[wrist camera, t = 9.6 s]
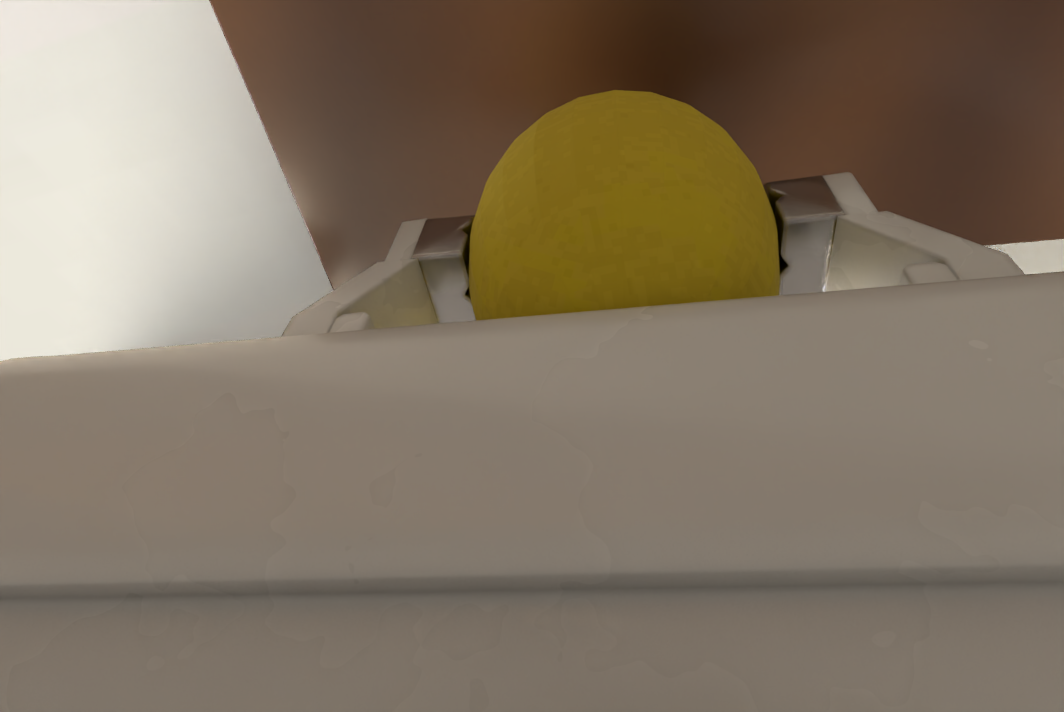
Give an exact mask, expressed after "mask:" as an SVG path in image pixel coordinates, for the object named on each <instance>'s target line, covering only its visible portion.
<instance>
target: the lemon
mask: <svg viewBox="0 0 1064 712" xmlns="http://www.w3.org/2000/svg"><path fill="white" fill-rule="evenodd" d="M779 285H780V268H779V250H778V233H777V226H776V220H775V217H774V213H773V210H772V207H771V205H770V202H769V200H768V197H767V195H766V192H765V190H764V187H763V185H762V182H761V180H760V177H759V175H758V173H757V171H756V169H755V167H754V165H753V164H752V163H751V161H750V160H749V159H748V157H747V156H746V155H745V154H744V153H743V151H742V150H741V149H740V148H739V146H738V145H737V144H736V143H735V141H734V140H733V139H732V138H731V137H730V135H729V134H728V133H727V132H726V130H724V129H723V128H722V127H721V126H720V125H718V124H717V123H715V122H714V121H712V120H711V119H710V118H708V117H707V116H705V115H704V114H702V113H701V112H699V111H698V110H696V109H695V108H693V107H692V106H690V105H688V104H686V103H683V102H680V101H677V100H674V99H671V98H668V97H665V96H662V95H659V94H656V93H653V92H642V91H624V90H612V91H607V92H602V93H597V94H592V95H587V96H582V97H578V98H576V99H574V100H572V101H570V102H568V103H566V104H564V105H562V106H560V107H558V108H556V109H554V110H552V111H550V112H548V113H546V114H545V115H543V116H542V117H541V118H540V119H538V120H537V121H536V122H535V123H534V124H533V125H531V126H530V127H529V128H528V129H527V130H525V131H524V132H523V133H522V134H521V135H520V136H518V137H517V138H516V139H515V140H514V141H513V143H512V144H511V145H510V147H509V148H508V150H507V151H506V152H505V154H504V155H503V157H502V158H501V160H500V161H499V163H498V164H497V165H496V167H495V168H494V170H493V171H492V173H491V174H490V176H489V178H488V180H487V182H486V184H485V187H484V190H483V193H482V196H481V199H480V202H479V205H478V208H477V211H476V214H475V218H474V221H473V224H472V229H471V234H470V255H469V291H470V297H471V303H472V307H473V311H474V315H475V318H476V320H488V319H500V318H512V317H524V316H536V315H548V314H561V313H573V312H585V311H597V310H609V309H621V308H633V307H645V306H657V305H669V304H681V303H693V302H705V301H717V300H729V299H741V298H753V297H765V296H777V295H779Z"/></svg>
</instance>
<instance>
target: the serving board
mask: <svg viewBox="0 0 1064 712" xmlns="http://www.w3.org/2000/svg"><path fill="white" fill-rule="evenodd" d="M209 1H210V3H211V6H212V8H213V10H214V13H215V15H216V17H217V20H218V22H219V24H220V27H221V29H222V31H223V34H224V36H225V38H226V41H227V43H228V45H229V48H230V50H231V52H232V55H233V57H234V59H235V62H236V64H237V66H238V69H239V71H240V73H241V76H242V78H243V80H244V83H245V85H246V87H247V90H248V92H249V94H250V97H251V99H252V101H253V104H254V106H255V108H256V111H257V113H258V115H259V118H260V120H261V122H262V125H263V127H264V129H265V132H266V134H267V136H268V139H269V141H270V143H271V146H272V148H273V150H274V153H275V155H276V157H277V160H278V162H279V164H280V167H281V169H282V171H283V174H284V176H285V178H286V181H287V183H288V185H289V188H290V190H291V192H292V195H293V197H294V199H295V202H296V204H297V206H298V209H299V211H300V213H301V216H302V218H303V220H304V223H305V225H306V227H307V230H308V232H309V234H310V237H311V239H312V241H313V244H314V246H315V248H316V251H317V253H318V255H319V258H320V260H321V262H322V265H323V267H324V269H325V272H326V274H327V276H328V279H329V281H330V283H331V286H332V288H333V290H335V289H337V288H338V287H340V286H341V285H343V284H344V283H346V282H348V281H349V280H351V279H352V278H354V277H355V276H357V275H359V274H360V273H362V272H363V271H365V270H366V269H368V268H369V267H371V266H373V265H374V264H376V263H377V262H384V261H385V259H386V257H387V255H388V253H389V250H390V248H391V246H392V244H393V242H394V239H395V237H396V235H397V233H398V230H399V228H400V226H401V224H402V222H406V221H412V220H419V219H426V218H427V219H433V218H444V217H455V216H466V215H475V214H476V211H477V208H478V205H479V202H480V199H481V196H482V193H483V190H484V187H485V184H486V182H487V180H488V178H489V176H490V174H491V173H492V171H493V170H494V168H495V167H496V165H497V164H498V163H499V161H500V160H501V158H502V157H503V155H504V154H505V152H506V151H507V150H508V148H509V147H510V145H511V144H512V143H513V141H514V140H515V139H516V138H517V137H518V136H520V135H521V134H522V133H523V132H524V131H525V130H527V129H528V128H529V127H530V126H531V125H533V124H534V123H535V122H536V121H537V120H538V119H540V118H541V117H542V116H543V115H545V114H546V113H548V112H550V111H552V110H554V109H556V108H558V107H560V106H562V105H564V104H566V103H568V102H570V101H572V100H574V99H576V98H578V97H582V96H587V95H592V94H597V93H602V92H607V91H612V90H624V91H642V92H653V93H656V94H659V95H662V96H665V97H668V98H671V99H674V100H677V101H680V102H683V103H686V104H688V105H690V106H692V107H693V108H695V109H696V110H698V111H699V112H701V113H702V114H704V115H705V116H707V117H708V118H710V119H711V120H712V121H714V122H715V123H717V124H718V125H720V126H721V127H722V128H723V129H724V130H726V132H727V133H728V134H729V135H730V137H731V138H732V139H733V140H734V141H735V143H736V144H737V145H738V146H739V148H740V149H741V150H742V151H743V153H744V154H745V155H746V156H747V157H748V159H749V160H750V161H751V163H752V164H753V165H754V167H755V169H756V171H757V173H758V175H759V177H760V180H761V182H762V185H764V184H765V183H767V182H774V181H781V180H789V179H797V178H804V177H812V176H819V175H822V176H825V175H831V174H837V173H844V172H849V173H852V174H853V176H854V177H855V179H856V180H857V182H858V183H859V184H860V186H861V187H862V189H863V190H864V192H865V193H866V195H867V196H868V197H869V199H870V200H871V202H872V203H873V205H874V206H875V208H876V209H877V210H878V212H881V211H888V212H891V213H894V214H897V215H900V216H902V217H905V218H908V219H911V220H913V221H916V222H919V223H922V224H925V225H927V226H930V227H933V228H936V229H938V230H941V231H944V232H947V233H950V234H952V235H955V236H958V237H961V238H963V239H966V240H969V241H972V242H975V243H977V244H980V245H983V246H985V245H997V244H1009V243H1020V242H1032V241H1044V240H1056V239H1064V0H209Z"/></svg>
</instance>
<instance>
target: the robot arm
mask: <svg viewBox="0 0 1064 712" xmlns="http://www.w3.org/2000/svg"><path fill="white" fill-rule="evenodd" d="M763 187H764V190H765V192H766V195H767V197H768V200H769V202H770V205H771V207H772V210H773V213H774V217H775V220H776V226H777V233H778V250H779V268H780V285H779V295H777V296H765V297H753V298H741V299H729V300H717V301H705V302H693V303H681V304H669V305H657V306H645V307H633V308H621V309H609V310H597V311H585V312H573V313H561V314H548V315H536V316H524V317H512V318H500V319H488V320H476V318H475V315H474V311H473V307H472V303H471V297H470V291H469V255H470V234H471V229H472V224H473V221H474V218H475V215H466V216H455V217H444V218H433V219H427V218H426V219H419V220H412V221H406V222H402V224H401V226H400V228H399V230H398V233H397V235H396V237H395V239H394V242H393V244H392V246H391V248H390V250H389V253H388V255H387V257H386V259H385V261H384V262H377V263H376V264H374V265H373V266H371V267H369V268H368V269H366V270H365V271H363V272H362V273H360V274H359V275H357V276H355V277H354V278H352V279H351V280H349V281H348V282H346V283H344V284H343V285H341V286H340V287H338V288H337V289H335V290H334V291H332V292H330V293H329V294H327V295H326V296H324V297H323V298H321V299H320V300H318V301H316V302H315V303H313V304H312V305H310V306H309V307H307V308H306V309H304V310H302V311H301V312H299V313H298V314H296V315H295V316H293V317H292V318H291V320H290V322H289V324H288V325H287V327H286V329H285V331H284V332H283V334H282V336H281V337H273V338H261V339H249V340H237V341H225V342H213V343H201V344H189V345H177V346H166V347H154V348H142V349H130V350H118V351H106V352H94V353H82V354H70V355H58V356H38V357H24V358H13V359H8V360H3V361H0V712H1064V272H1052V273H1041V274H1029V275H1025V274H1024V273H1023V271H1022V270H1021V269H1020V268H1019V267H1018V266H1017V265H1016V263H1015V262H1014V261H1013V260H1012V259H1011V258H1010V257H1009V256H1008V254H1005V253H1002V252H1000V251H997V250H994V249H991V248H988V247H986V246H983V245H980V244H977V243H975V242H972V241H969V240H966V239H963V238H961V237H958V236H955V235H952V234H950V233H947V232H944V231H941V230H938V229H936V228H933V227H930V226H927V225H925V224H922V223H919V222H916V221H913V220H911V219H908V218H905V217H902V216H900V215H897V214H894V213H891V212H888V211H881V212H878V210H877V209H876V208H875V206H874V205H873V203H872V202H871V200H870V199H869V197H868V196H867V195H866V193H865V192H864V190H863V189H862V187H861V186H860V184H859V183H858V182H857V180H856V179H855V177H854V176H853V174H852V173H849V172H844V173H837V174H831V175H825V176H822V175H819V176H812V177H804V178H797V179H789V180H781V181H774V182H767V183H765V184H764V185H763Z"/></svg>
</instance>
